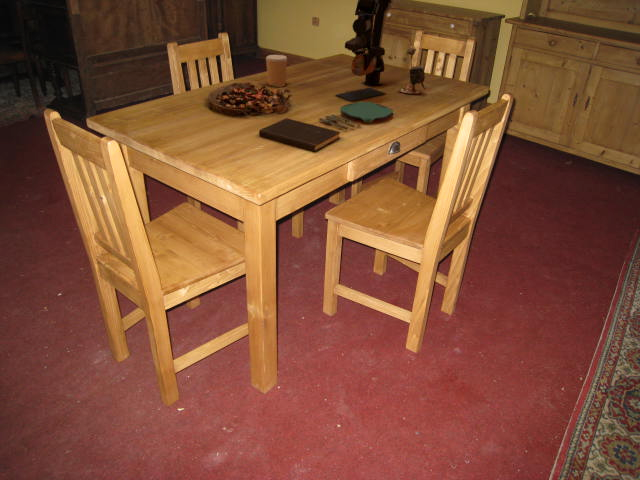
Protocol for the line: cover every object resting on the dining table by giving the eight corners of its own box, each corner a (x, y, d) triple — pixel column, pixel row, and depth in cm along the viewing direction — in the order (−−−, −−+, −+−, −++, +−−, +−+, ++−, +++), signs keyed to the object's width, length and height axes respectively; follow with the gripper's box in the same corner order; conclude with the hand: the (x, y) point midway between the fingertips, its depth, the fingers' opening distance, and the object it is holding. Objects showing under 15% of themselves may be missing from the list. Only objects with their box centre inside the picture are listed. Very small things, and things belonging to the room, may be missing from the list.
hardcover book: (286, 124, 188) (286, 118, 187) (340, 138, 178) (340, 131, 177) (258, 136, 177) (258, 130, 176) (314, 152, 167) (314, 145, 165)
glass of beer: (291, 84, 234) (291, 56, 227) (279, 88, 227) (278, 60, 221) (274, 80, 238) (274, 53, 231) (262, 84, 231) (261, 57, 225)
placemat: (369, 88, 232) (369, 87, 231) (385, 94, 225) (385, 93, 225) (335, 95, 221) (335, 94, 220) (351, 101, 214) (351, 100, 214)
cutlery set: (402, 116, 200) (403, 111, 199) (349, 133, 182) (349, 127, 181) (364, 104, 212) (365, 98, 211) (311, 119, 194) (311, 113, 193)
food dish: (308, 108, 208) (309, 89, 204) (245, 128, 188) (244, 107, 183) (251, 86, 227) (251, 68, 223) (188, 102, 207) (187, 83, 202)
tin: (354, 77, 213) (357, 57, 208) (348, 75, 215) (351, 55, 210) (375, 71, 223) (378, 51, 218) (370, 69, 224) (372, 49, 220)
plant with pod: (418, 97, 223) (425, 49, 213) (396, 91, 229) (401, 44, 218) (427, 93, 229) (434, 46, 218) (405, 88, 234) (411, 42, 224)
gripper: (335, 28, 210) (334, 67, 219) (367, 36, 198) (364, 77, 207) (355, 25, 217) (353, 63, 225) (387, 33, 205) (383, 73, 213)
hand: (362, 69), depth 217 cm, fingers closed on tin, 3 cm apart
